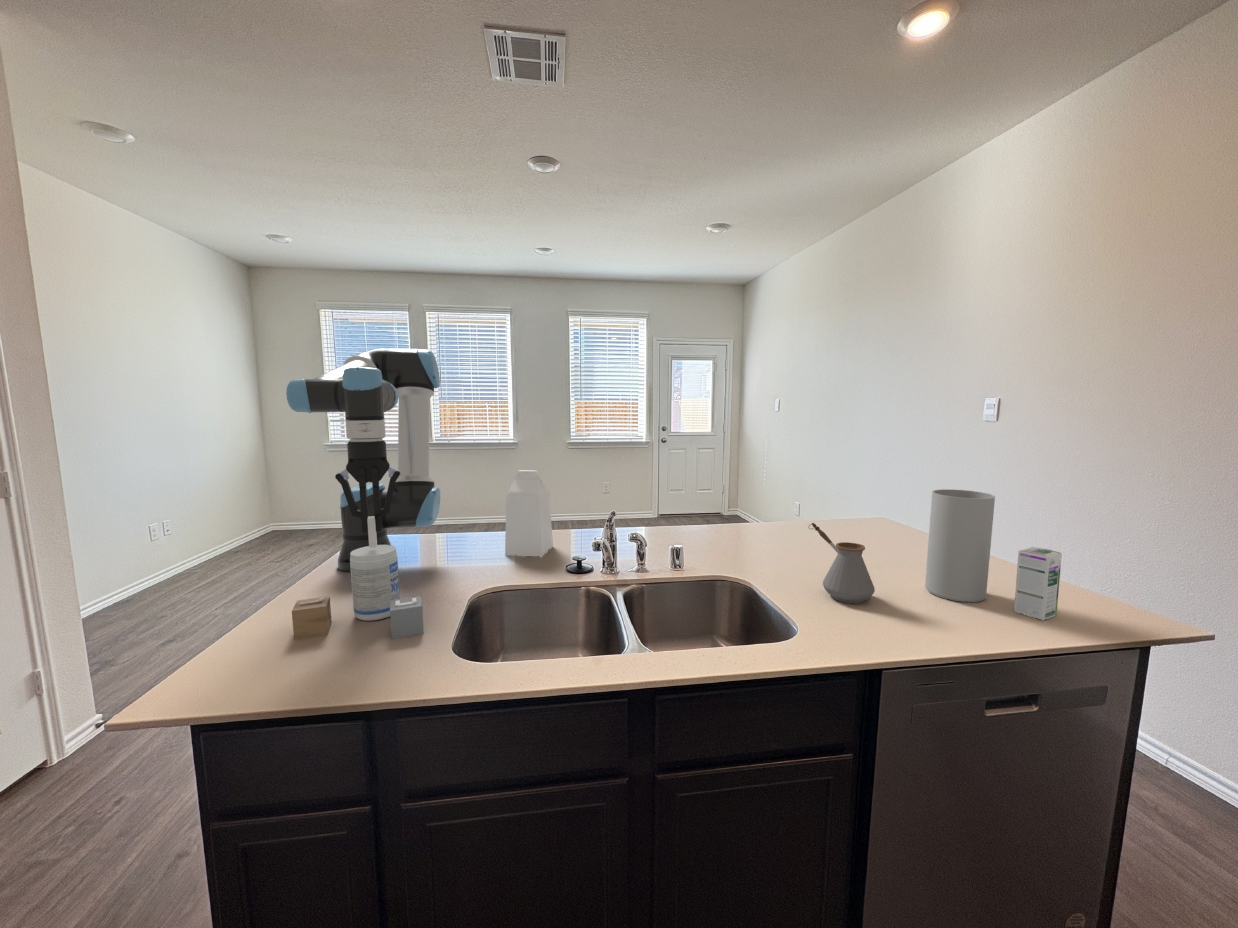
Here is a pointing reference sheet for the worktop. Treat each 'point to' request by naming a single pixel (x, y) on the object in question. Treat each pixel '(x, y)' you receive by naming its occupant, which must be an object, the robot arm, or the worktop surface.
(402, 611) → the slate grey marked block
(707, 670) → the worktop surface
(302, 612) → the walnut marked block
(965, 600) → the cylinder vase
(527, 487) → the milk
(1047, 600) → the syrup box
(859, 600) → the coffee pot
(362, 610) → the supplement tub
